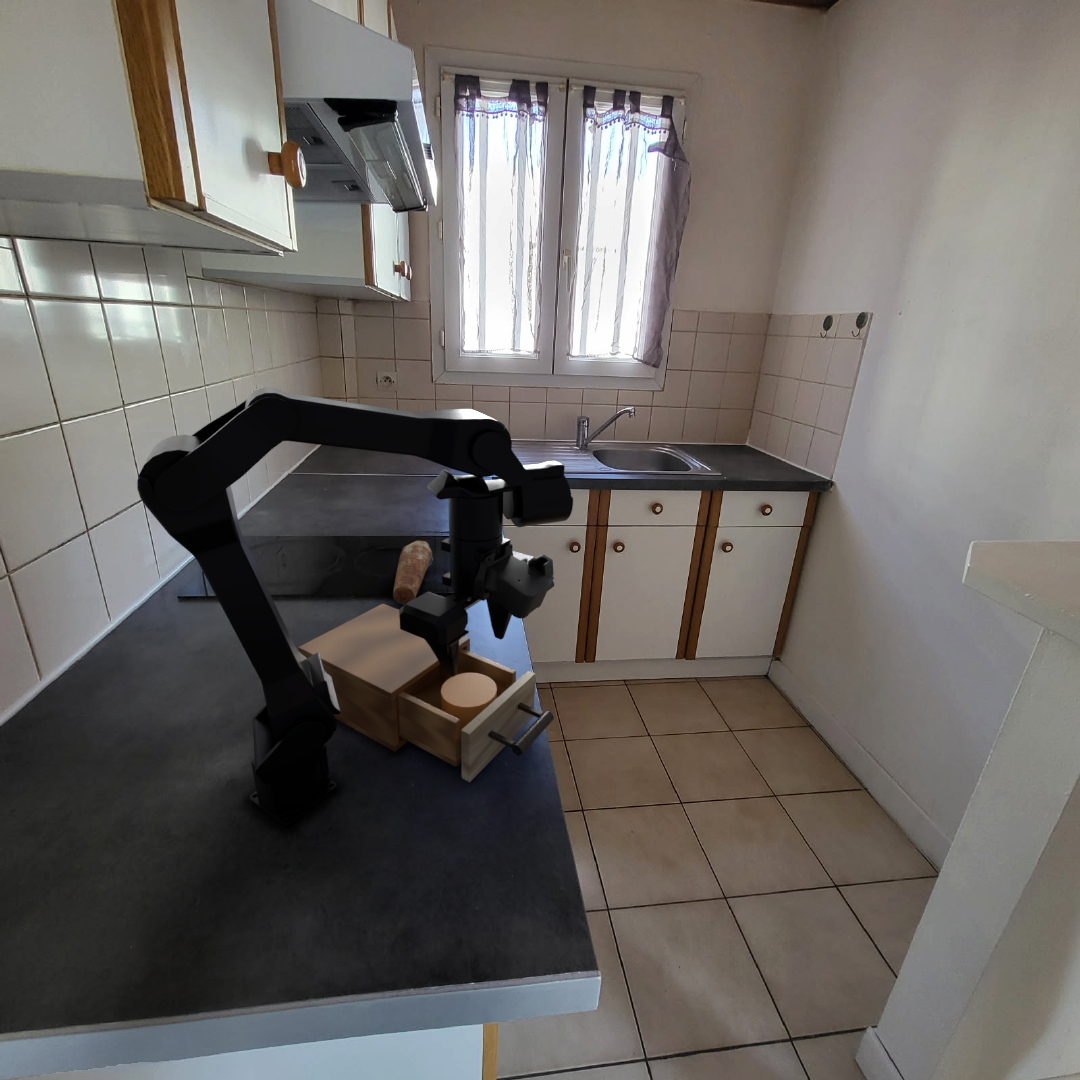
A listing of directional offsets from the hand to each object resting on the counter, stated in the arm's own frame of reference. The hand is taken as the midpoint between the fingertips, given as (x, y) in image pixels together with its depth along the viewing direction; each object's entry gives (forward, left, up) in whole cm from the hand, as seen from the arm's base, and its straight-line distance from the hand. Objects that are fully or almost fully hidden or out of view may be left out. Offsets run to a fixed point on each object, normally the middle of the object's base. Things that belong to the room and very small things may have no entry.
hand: (476, 655), depth 65 cm
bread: (+27, +36, -13) cm, 47 cm away
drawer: (0, +1, -11) cm, 11 cm away
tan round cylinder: (0, +1, -10) cm, 10 cm away
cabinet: (0, +15, -12) cm, 19 cm away
